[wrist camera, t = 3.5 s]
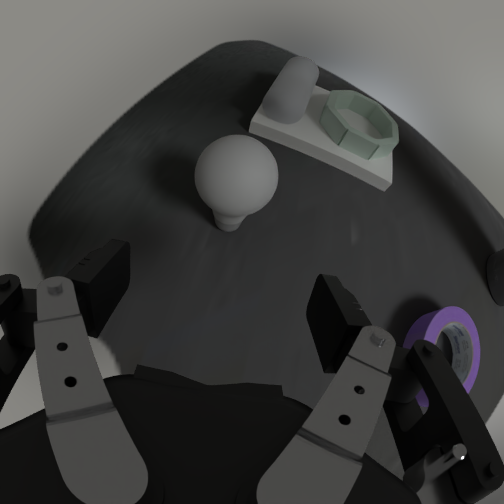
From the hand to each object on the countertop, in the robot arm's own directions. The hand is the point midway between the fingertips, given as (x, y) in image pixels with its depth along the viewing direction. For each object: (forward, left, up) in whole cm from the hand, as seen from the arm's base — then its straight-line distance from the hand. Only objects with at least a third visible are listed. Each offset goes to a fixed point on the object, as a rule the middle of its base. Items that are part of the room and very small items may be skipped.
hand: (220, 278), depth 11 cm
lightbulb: (+2, -9, -14) cm, 16 cm away
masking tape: (-26, -3, -14) cm, 30 cm away
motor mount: (-5, -29, -13) cm, 32 cm away
